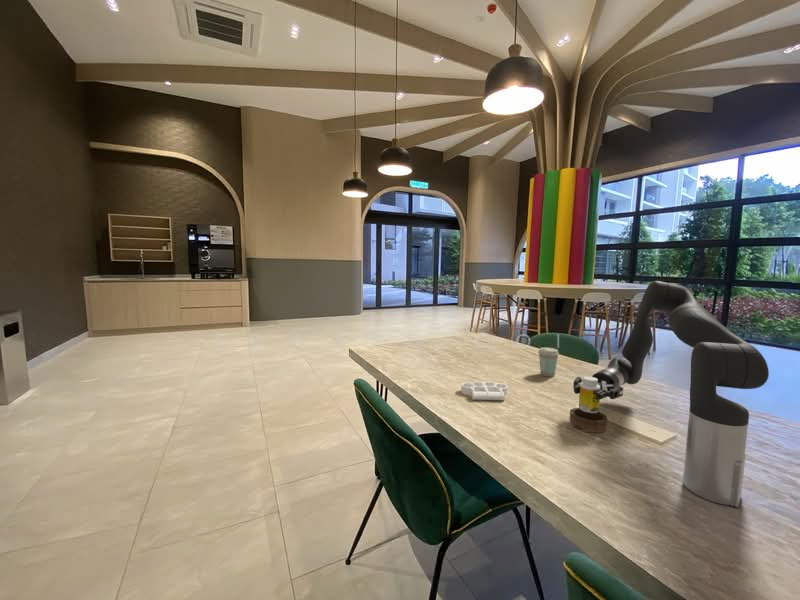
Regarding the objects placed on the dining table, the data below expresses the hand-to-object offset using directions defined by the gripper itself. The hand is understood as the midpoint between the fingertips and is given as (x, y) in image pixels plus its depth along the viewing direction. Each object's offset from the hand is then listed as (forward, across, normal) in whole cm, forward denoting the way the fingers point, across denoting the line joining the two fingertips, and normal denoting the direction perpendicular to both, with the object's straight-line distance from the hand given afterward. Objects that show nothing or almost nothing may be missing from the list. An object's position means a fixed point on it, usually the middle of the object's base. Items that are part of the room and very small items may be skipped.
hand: (586, 393), depth 102 cm
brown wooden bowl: (-2, 0, +11) cm, 11 cm away
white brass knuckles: (+1, -36, +12) cm, 38 cm away
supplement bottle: (-3, 0, +6) cm, 7 cm away
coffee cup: (-40, -32, +12) cm, 53 cm away
